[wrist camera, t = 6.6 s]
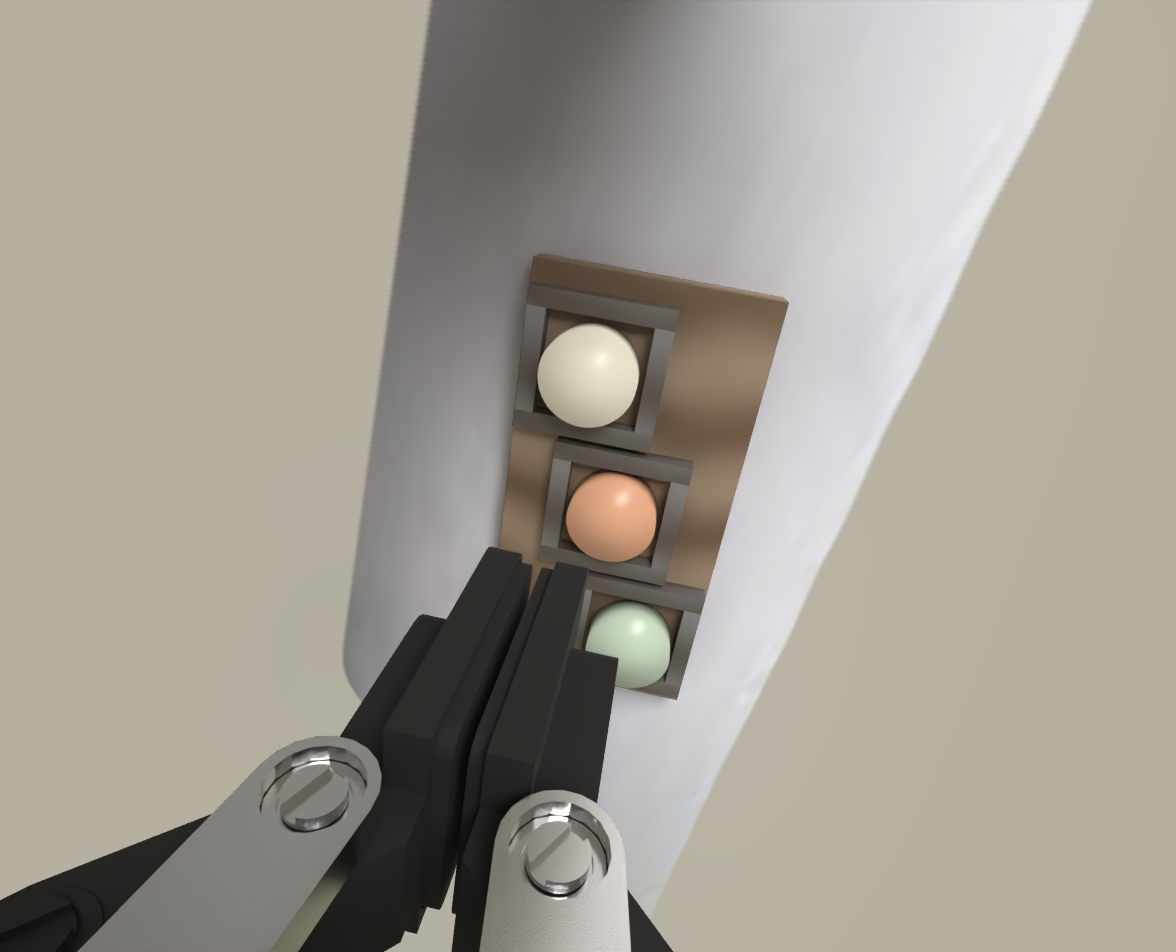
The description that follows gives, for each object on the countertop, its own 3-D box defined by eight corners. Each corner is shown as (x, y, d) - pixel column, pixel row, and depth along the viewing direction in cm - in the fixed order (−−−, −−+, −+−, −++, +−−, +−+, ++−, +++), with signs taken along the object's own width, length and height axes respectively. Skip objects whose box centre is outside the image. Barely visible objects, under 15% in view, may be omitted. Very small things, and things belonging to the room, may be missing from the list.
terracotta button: (578, 459, 37) (573, 473, 35) (665, 477, 36) (663, 492, 35) (566, 535, 39) (560, 551, 37) (647, 552, 38) (645, 569, 37)
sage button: (597, 592, 39) (592, 611, 37) (678, 610, 39) (677, 630, 37) (584, 656, 41) (579, 677, 39) (661, 673, 41) (660, 696, 39)
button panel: (541, 253, 34) (527, 258, 32) (783, 297, 34) (792, 306, 31) (494, 638, 45) (481, 668, 42) (677, 679, 44) (676, 713, 41)
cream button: (552, 313, 33) (544, 320, 31) (648, 331, 32) (646, 339, 31) (539, 406, 35) (531, 417, 33) (630, 423, 35) (627, 436, 33)
